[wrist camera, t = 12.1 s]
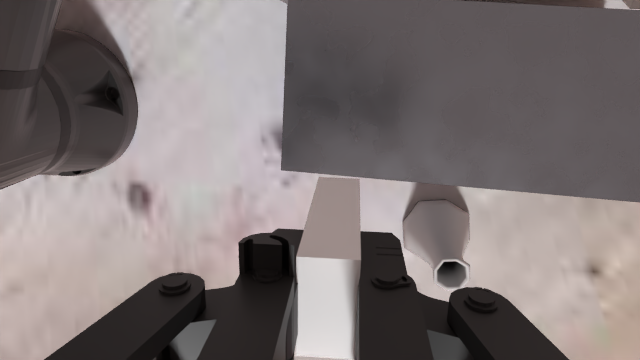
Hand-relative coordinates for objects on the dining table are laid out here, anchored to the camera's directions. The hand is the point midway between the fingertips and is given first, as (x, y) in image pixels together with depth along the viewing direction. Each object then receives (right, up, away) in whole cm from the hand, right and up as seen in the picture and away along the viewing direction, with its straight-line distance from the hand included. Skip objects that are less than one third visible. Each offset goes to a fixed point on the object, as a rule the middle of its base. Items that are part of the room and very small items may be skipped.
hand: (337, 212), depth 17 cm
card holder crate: (+11, +11, +27) cm, 31 cm away
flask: (+12, -4, +31) cm, 34 cm away
